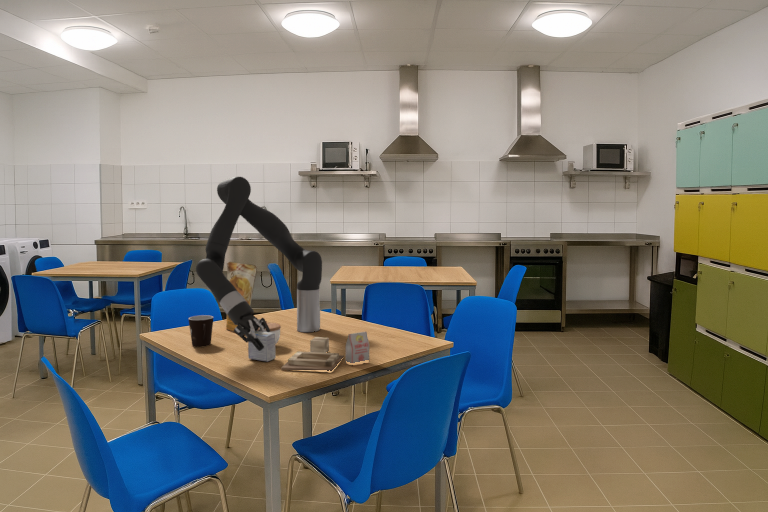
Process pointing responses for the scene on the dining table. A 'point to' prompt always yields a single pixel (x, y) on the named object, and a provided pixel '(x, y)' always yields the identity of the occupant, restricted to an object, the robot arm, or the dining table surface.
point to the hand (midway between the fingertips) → (266, 347)
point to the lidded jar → (274, 330)
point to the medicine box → (268, 349)
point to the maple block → (319, 345)
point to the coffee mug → (201, 330)
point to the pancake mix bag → (241, 283)
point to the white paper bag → (357, 347)
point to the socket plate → (297, 367)
